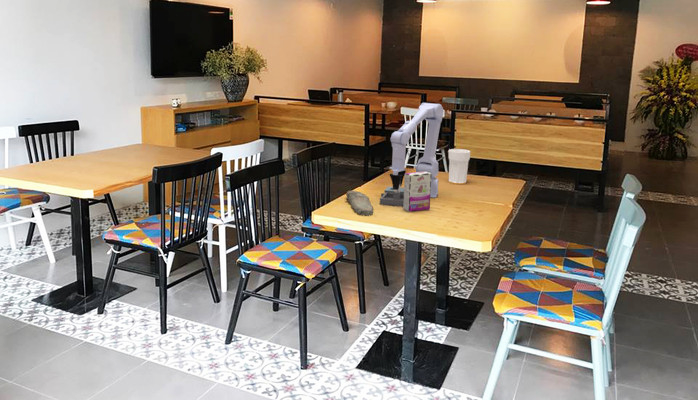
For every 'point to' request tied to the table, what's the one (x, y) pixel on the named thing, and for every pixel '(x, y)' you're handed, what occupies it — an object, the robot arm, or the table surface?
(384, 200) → the tray
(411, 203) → the candy bar box
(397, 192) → the pin
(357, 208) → the elongated rock
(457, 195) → the table surface
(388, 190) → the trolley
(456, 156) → the cup
